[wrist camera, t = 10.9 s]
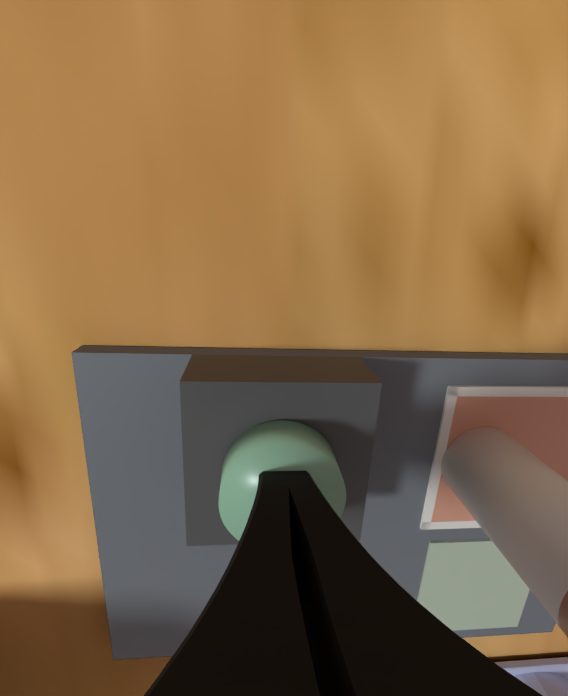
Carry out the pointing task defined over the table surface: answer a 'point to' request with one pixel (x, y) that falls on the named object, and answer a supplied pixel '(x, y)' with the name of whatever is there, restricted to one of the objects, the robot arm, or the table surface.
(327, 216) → the table surface
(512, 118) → the table surface
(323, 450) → the button
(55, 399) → the table surface
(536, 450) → the activity board
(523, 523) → the marker
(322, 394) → the button housing
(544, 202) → the table surface
